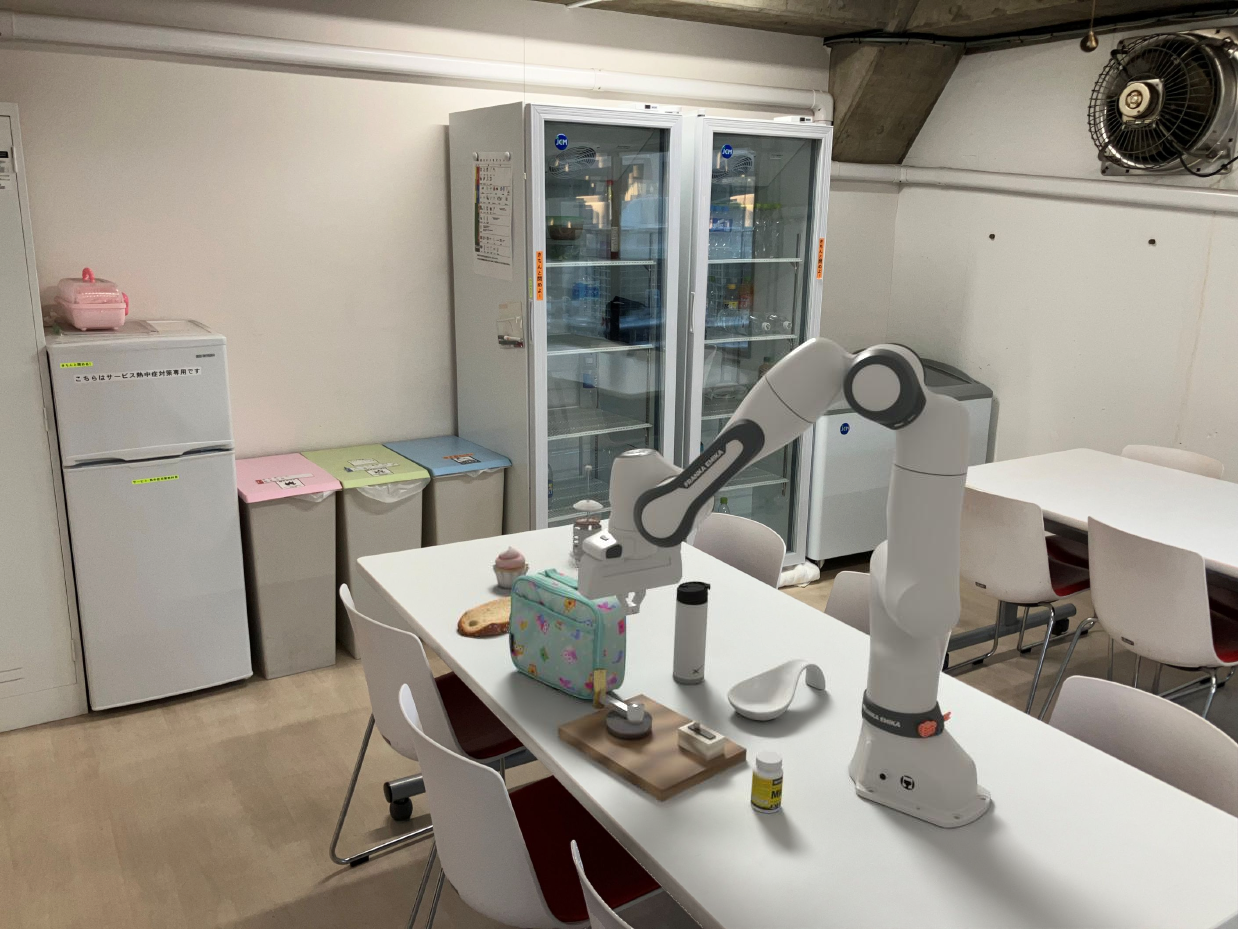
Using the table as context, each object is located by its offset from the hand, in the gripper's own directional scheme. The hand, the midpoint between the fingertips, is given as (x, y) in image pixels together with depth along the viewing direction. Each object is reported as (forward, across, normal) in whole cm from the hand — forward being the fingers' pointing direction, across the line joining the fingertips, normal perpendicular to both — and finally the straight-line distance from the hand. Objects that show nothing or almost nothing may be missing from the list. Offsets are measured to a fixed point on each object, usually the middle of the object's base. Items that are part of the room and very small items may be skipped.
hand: (630, 613), depth 176 cm
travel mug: (+20, -20, -8) cm, 29 cm away
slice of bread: (+21, +2, -53) cm, 57 cm away
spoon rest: (+20, -28, +9) cm, 36 cm away
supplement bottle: (+20, -4, +35) cm, 40 cm away
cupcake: (+21, -11, -72) cm, 76 cm away
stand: (+20, +2, +12) cm, 23 cm away
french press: (+21, -41, -84) cm, 96 cm away
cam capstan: (+18, +5, +5) cm, 19 cm away
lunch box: (+21, +3, -19) cm, 28 cm away
